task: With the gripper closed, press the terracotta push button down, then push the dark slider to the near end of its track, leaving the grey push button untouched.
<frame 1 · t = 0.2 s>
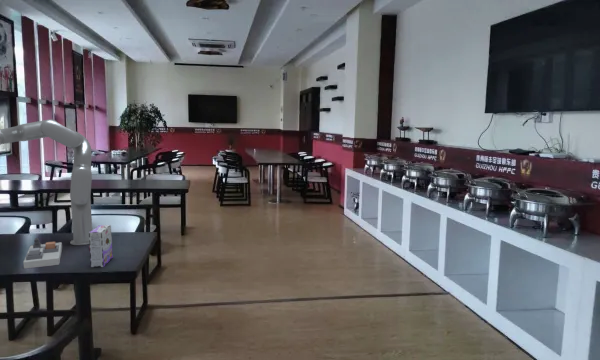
grey button: (34, 251, 211), point 6 cm above the table, slide at 0.0 cm
terracotta button: (50, 245, 221), point 6 cm above the table, slide at 0.0 cm
dark slider: (37, 243, 227), point 5 cm above the table, slide at 0.0 cm
mug: (98, 254, 227), on the table
panel: (44, 257, 221), on the table
candy box: (102, 263, 213), on the table
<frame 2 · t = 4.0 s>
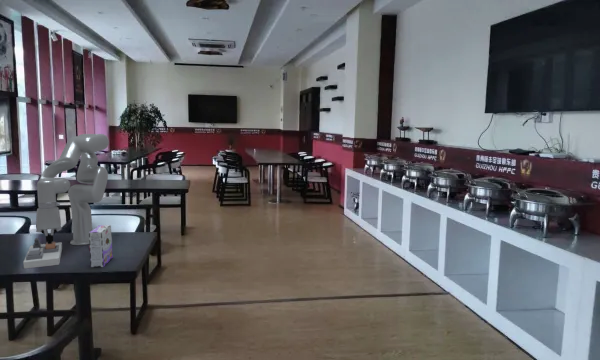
hand: (49, 243, 221), 7 cm above the table, tool pointing down, fingers closed
terracotta button: (50, 245, 221), point 6 cm above the table, slide at 0.0 cm, touching gripper
everything else where it was.
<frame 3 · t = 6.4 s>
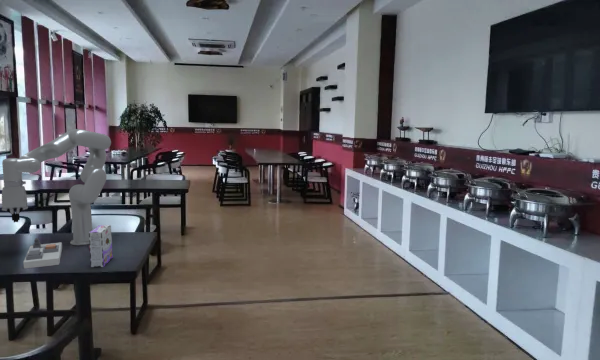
hand: (16, 221, 222), 17 cm above the table, tool pointing down, fingers closed
terracotta button: (50, 247, 222), point 4 cm above the table, slide at 1.2 cm
everything else where it was.
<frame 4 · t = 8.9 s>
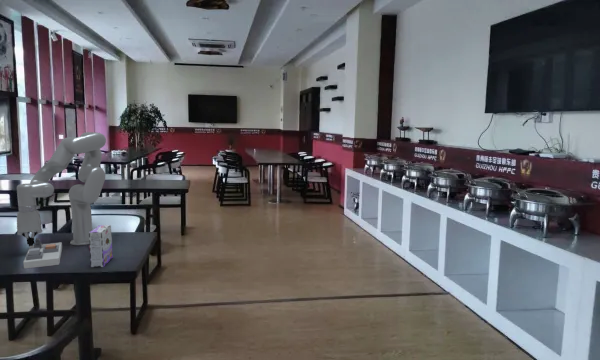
hand: (30, 245, 226), 4 cm above the table, tool pointing down, fingers closed
dark slider: (37, 242, 227), point 5 cm above the table, slide at 0.3 cm, touching gripper
everything else where it was.
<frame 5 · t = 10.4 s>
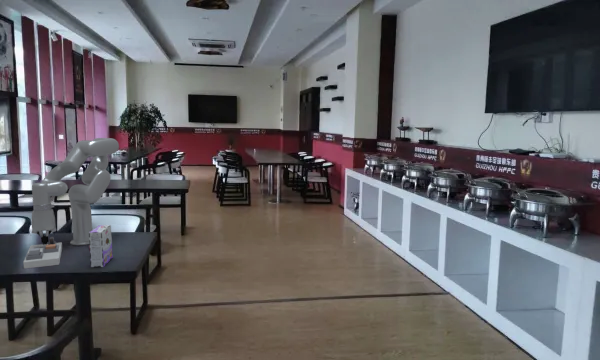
hand: (45, 243, 228), 5 cm above the table, tool pointing down, fingers closed
dark slider: (51, 241, 230), point 5 cm above the table, slide at 6.5 cm, touching gripper
everything else where it was.
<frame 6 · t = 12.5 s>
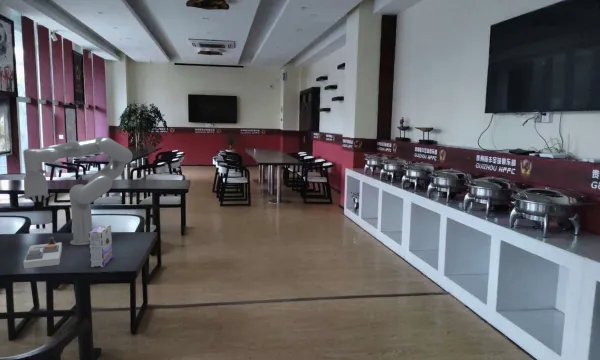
hand: (38, 209, 232), 21 cm above the table, tool pointing down, fingers closed
dark slider: (51, 241, 230), point 5 cm above the table, slide at 6.5 cm
everything else where it was.
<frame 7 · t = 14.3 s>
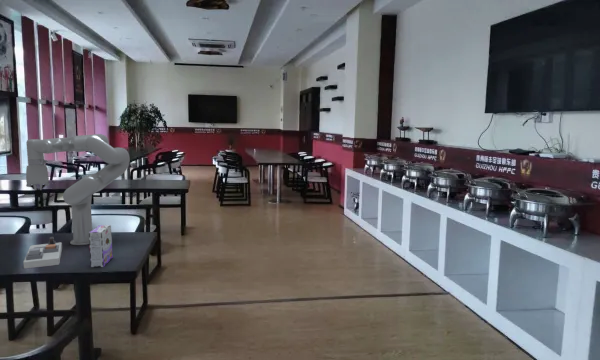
hand: (38, 197, 243), 25 cm above the table, tool pointing down, fingers closed
nothing on the table moved.
at the end: terracotta button slide at 1.2 cm; dark slider slide at 6.5 cm; grey button slide at 0.0 cm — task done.
